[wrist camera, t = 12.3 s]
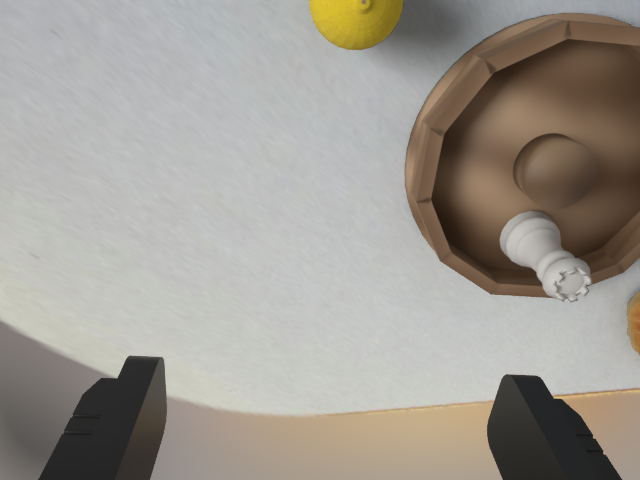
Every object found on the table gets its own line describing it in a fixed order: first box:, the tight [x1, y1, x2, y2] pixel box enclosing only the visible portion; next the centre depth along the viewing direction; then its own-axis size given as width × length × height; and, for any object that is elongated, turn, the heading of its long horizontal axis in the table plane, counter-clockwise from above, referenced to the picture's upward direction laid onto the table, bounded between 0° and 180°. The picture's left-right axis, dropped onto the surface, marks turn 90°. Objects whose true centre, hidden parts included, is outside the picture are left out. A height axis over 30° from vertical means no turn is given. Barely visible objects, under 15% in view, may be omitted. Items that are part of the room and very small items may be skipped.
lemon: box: [309, 0, 404, 50], centre depth 30 cm, size 6×6×8 cm
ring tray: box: [405, 13, 640, 298], centre depth 38 cm, size 21×21×4 cm
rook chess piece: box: [500, 211, 592, 302], centre depth 38 cm, size 4×4×8 cm
